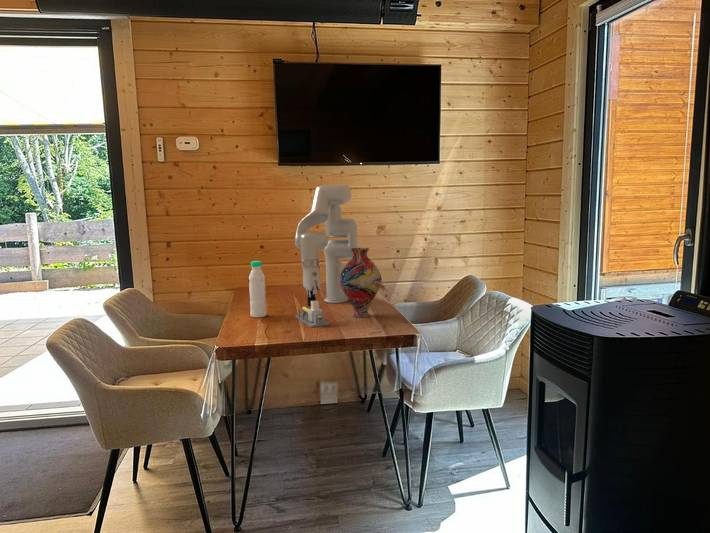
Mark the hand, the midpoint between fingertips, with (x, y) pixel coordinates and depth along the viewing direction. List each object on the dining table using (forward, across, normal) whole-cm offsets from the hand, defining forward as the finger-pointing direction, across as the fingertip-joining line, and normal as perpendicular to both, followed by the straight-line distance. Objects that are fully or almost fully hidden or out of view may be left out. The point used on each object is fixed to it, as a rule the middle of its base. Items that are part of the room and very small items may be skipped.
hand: (311, 305), depth 205 cm
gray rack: (+7, 0, 0) cm, 7 cm away
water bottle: (+7, +21, +18) cm, 29 cm away
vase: (+7, 0, -23) cm, 24 cm away
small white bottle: (+5, -4, 0) cm, 7 cm away
